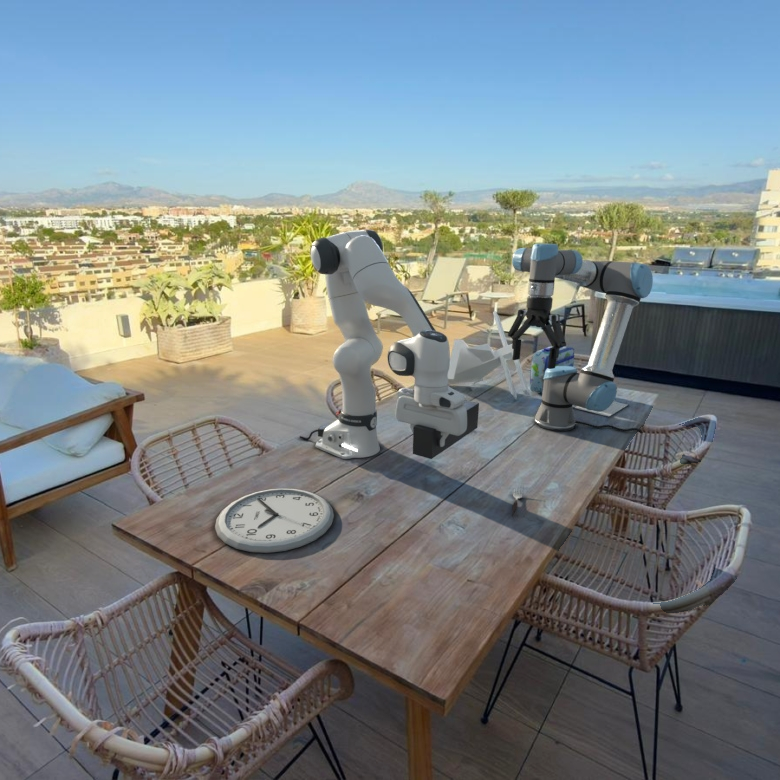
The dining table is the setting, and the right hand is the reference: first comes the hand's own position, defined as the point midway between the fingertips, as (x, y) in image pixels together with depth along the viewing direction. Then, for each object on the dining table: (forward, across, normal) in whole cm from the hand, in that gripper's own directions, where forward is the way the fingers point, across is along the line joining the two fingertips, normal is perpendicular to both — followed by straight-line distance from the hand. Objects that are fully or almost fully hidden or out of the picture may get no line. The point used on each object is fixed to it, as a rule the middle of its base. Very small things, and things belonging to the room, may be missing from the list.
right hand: (533, 363), depth 165 cm
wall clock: (+32, -14, -84) cm, 91 cm away
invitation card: (+32, -13, +70) cm, 78 cm away
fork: (+32, +19, -27) cm, 46 cm away
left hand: (+14, +3, -46) cm, 48 cm away
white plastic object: (+32, -58, +42) cm, 78 cm away
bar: (+17, 0, -36) cm, 40 cm away
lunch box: (+32, -41, +72) cm, 89 cm away
